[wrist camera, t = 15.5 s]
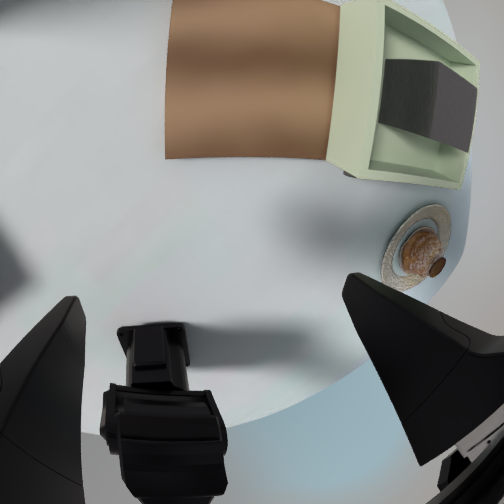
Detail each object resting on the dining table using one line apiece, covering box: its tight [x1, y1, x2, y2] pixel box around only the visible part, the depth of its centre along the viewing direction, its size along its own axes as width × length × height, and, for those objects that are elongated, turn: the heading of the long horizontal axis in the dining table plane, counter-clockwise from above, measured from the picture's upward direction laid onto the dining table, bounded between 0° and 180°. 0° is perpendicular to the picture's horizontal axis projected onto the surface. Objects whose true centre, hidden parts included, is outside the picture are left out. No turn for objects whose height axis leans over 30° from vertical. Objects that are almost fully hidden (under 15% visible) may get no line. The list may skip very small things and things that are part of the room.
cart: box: [326, 0, 480, 190], centre depth 15 cm, size 14×12×4 cm
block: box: [378, 59, 478, 153], centre depth 13 cm, size 5×5×5 cm
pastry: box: [381, 204, 451, 291], centre depth 27 cm, size 12×12×5 cm
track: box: [165, 0, 340, 160], centre depth 16 cm, size 12×24×1 cm, turn 86°
